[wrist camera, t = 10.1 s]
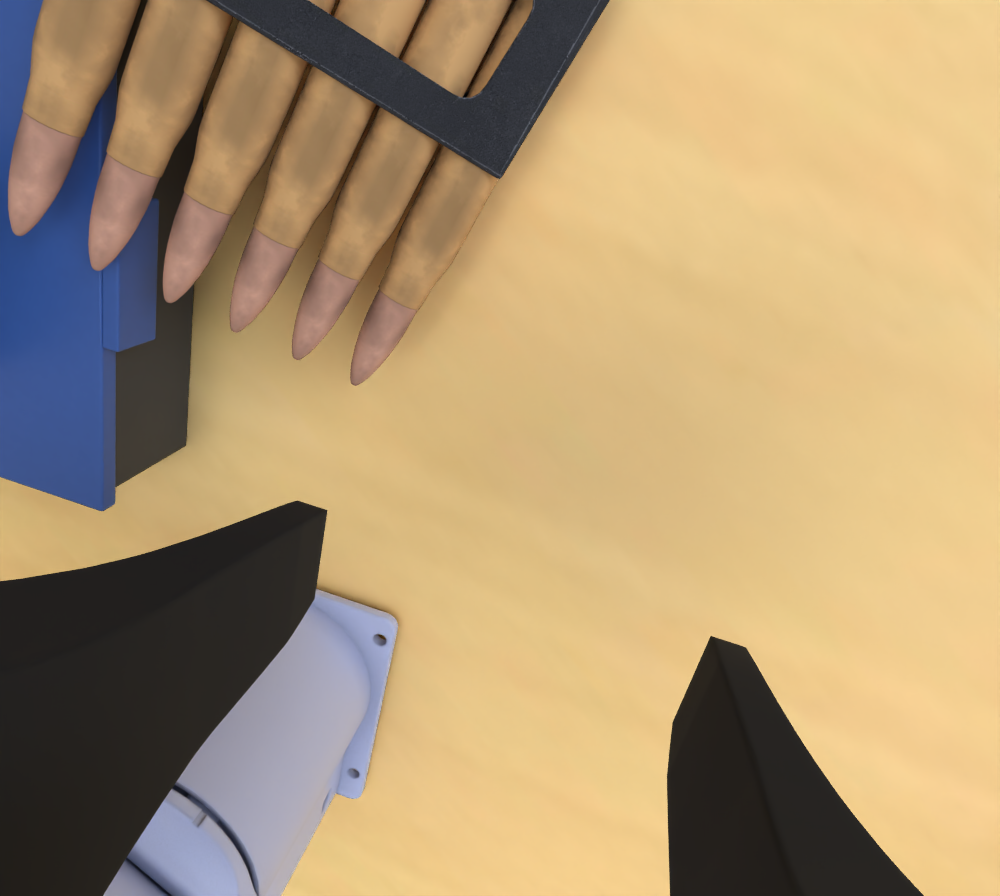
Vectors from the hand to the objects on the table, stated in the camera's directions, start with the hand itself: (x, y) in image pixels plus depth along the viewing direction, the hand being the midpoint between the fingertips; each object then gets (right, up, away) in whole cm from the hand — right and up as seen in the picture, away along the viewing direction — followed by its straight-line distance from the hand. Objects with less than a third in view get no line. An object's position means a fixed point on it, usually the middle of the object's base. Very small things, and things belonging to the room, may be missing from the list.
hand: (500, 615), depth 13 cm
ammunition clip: (-2, +16, +2) cm, 17 cm away
